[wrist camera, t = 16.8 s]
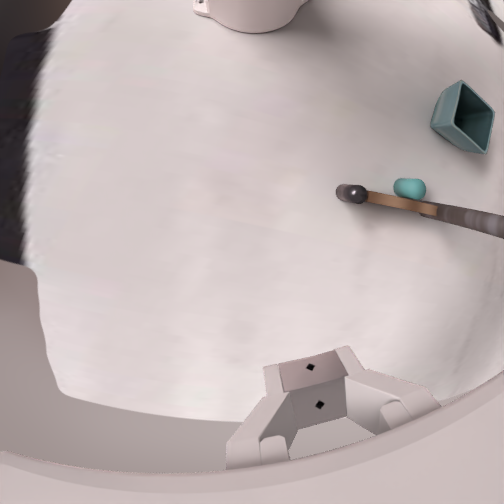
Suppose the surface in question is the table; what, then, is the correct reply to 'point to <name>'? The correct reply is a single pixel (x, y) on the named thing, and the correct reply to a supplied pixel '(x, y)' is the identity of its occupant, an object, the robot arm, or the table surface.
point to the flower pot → (463, 118)
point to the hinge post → (351, 193)
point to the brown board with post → (445, 213)
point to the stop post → (410, 188)
